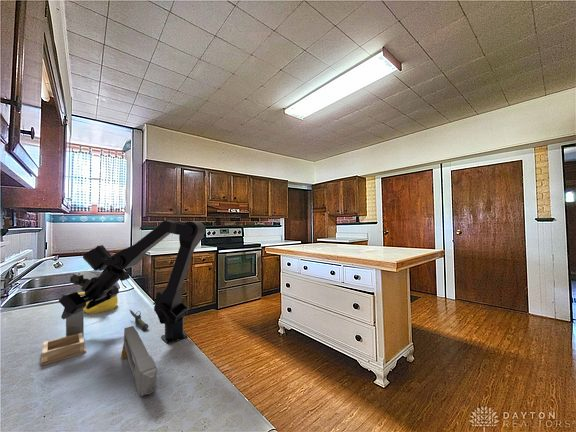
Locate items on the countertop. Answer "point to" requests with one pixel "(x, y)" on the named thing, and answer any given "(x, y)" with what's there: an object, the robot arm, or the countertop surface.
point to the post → (75, 324)
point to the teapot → (101, 305)
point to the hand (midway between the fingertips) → (75, 313)
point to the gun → (139, 362)
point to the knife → (139, 320)
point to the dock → (62, 348)
